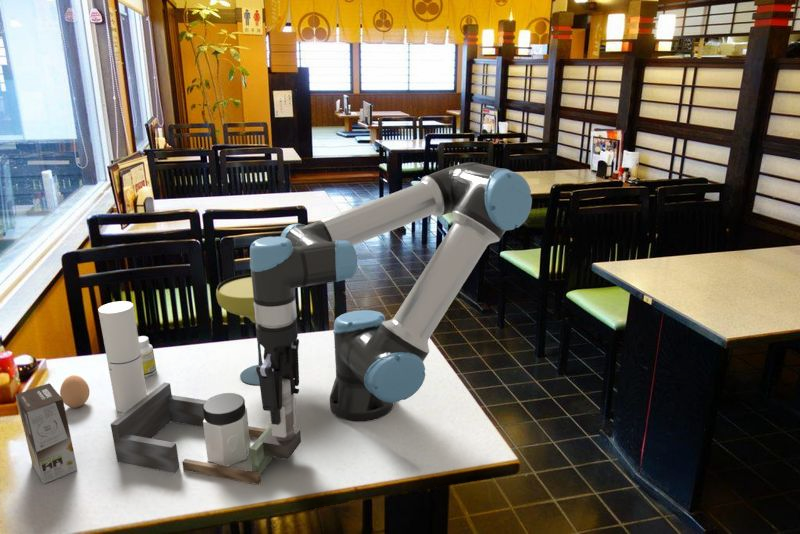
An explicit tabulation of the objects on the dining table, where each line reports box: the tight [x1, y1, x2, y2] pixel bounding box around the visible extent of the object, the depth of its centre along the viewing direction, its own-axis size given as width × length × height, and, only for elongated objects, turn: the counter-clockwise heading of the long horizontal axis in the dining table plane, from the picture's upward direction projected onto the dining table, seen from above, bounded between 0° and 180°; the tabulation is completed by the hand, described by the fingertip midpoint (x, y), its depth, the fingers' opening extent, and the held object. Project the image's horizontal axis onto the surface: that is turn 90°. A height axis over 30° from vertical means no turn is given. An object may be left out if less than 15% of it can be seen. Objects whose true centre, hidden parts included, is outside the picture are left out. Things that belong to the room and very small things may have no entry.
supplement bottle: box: [138, 335, 157, 378], centre depth 154 cm, size 5×5×10 cm
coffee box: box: [15, 383, 78, 484], centre depth 116 cm, size 9×6×16 cm
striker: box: [249, 378, 302, 475], centre depth 117 cm, size 7×11×18 cm, turn 165°
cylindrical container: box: [97, 300, 148, 413], centre depth 137 cm, size 7×7×25 cm
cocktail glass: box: [215, 273, 264, 386], centre depth 150 cm, size 18×18×25 cm
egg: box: [59, 374, 90, 409], centre depth 139 cm, size 6×6×8 cm
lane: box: [110, 382, 267, 485], centre depth 122 cm, size 31×17×9 cm, turn 75°
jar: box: [203, 392, 251, 467], centre depth 121 cm, size 9×8×12 cm
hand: (284, 429), depth 117 cm, fingers closed on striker, 4 cm apart
